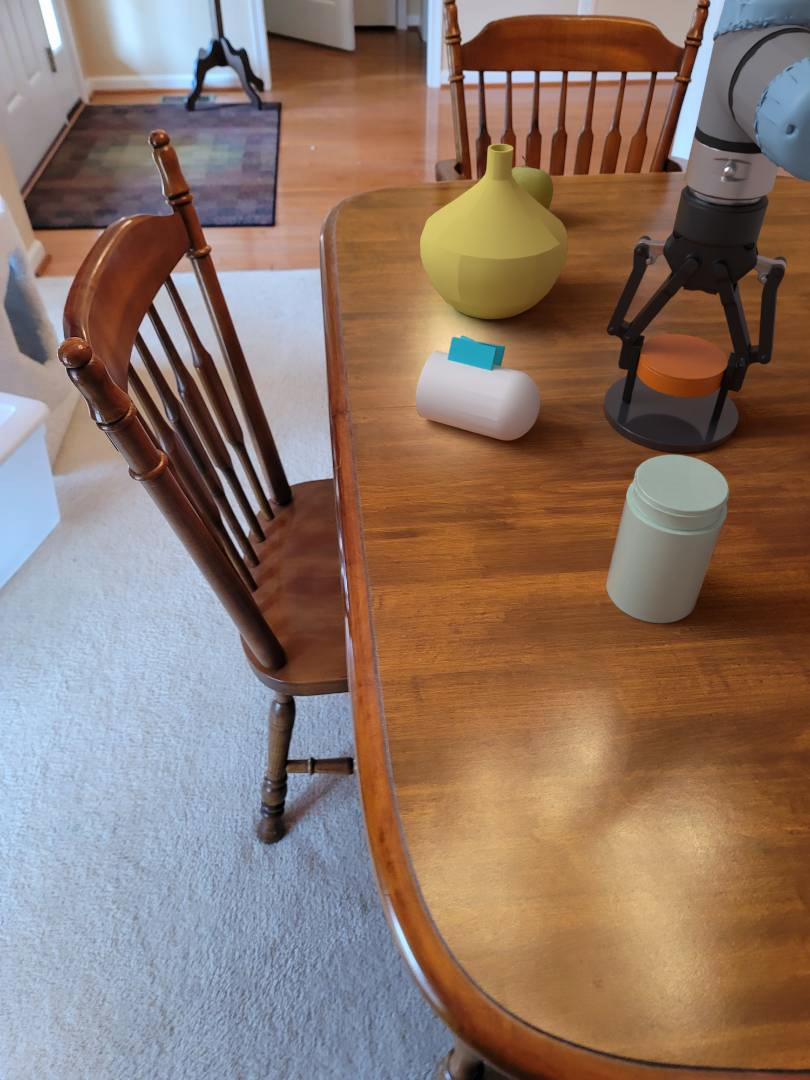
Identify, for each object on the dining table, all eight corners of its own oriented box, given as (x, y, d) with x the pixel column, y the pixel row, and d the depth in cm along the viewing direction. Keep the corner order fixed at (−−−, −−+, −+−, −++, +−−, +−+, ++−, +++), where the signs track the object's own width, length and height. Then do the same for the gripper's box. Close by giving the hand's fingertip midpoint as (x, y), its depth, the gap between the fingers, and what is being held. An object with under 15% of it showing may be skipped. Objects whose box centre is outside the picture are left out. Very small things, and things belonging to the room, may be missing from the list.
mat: (742, 394, 93) (745, 386, 92) (727, 466, 84) (730, 458, 83) (618, 368, 97) (619, 361, 96) (590, 435, 88) (591, 427, 87)
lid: (647, 345, 91) (651, 327, 90) (729, 364, 88) (735, 345, 87) (626, 385, 86) (630, 366, 84) (713, 406, 83) (719, 386, 81)
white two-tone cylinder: (540, 362, 79) (426, 334, 83) (519, 453, 83) (410, 422, 86) (570, 352, 89) (467, 327, 93) (550, 433, 93) (451, 406, 97)
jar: (702, 572, 73) (739, 464, 65) (689, 634, 68) (727, 525, 60) (616, 549, 75) (641, 442, 67) (597, 607, 70) (621, 499, 62)
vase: (553, 270, 115) (571, 122, 102) (567, 337, 102) (590, 178, 89) (420, 269, 116) (422, 121, 103) (418, 336, 103) (419, 176, 89)
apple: (522, 233, 122) (516, 159, 117) (493, 230, 128) (487, 160, 124) (566, 223, 125) (563, 150, 120) (536, 220, 131) (531, 151, 127)
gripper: (596, 187, 74) (564, 400, 90) (855, 224, 68) (773, 446, 84) (614, 160, 79) (581, 366, 95) (857, 192, 73) (779, 406, 89)
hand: (671, 403), depth 89 cm, fingers closed on lid, 9 cm apart
